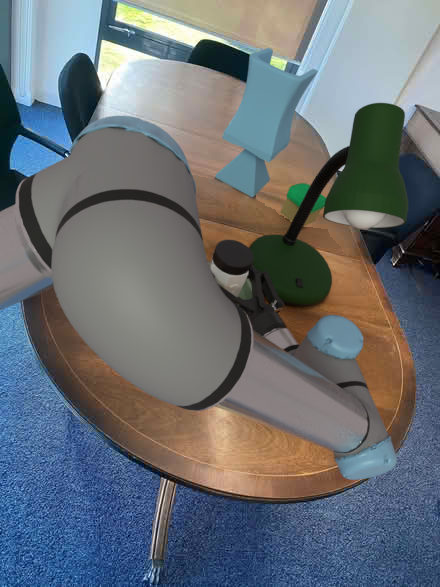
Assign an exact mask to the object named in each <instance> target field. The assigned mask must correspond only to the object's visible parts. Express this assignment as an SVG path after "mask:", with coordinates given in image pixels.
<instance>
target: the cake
mask: <svg viewBox="0 0 440 587" xmlns="http://www.w3.org/2000/svg"><path fill="white" fill-rule="evenodd" d="M310 185H311V184H308V183H304V182H302V183H300V182H299V183H295V184H293V185H291V186H290V187H289V188H288V190H287V192H286V199H285V200H284V203H283V205H282V207H281V209H280V212H279V213H280V214H282V215H283V217H284V218H286V219H288V220H289V221H290V222H292V221H293V219H294V217H295V215H296V213H297V211H298V209H299V207H300V205H301V203H302V201H303V199H304V197H305V195H306V193H307V191H308V189H309V187H310ZM326 198H327V196H324V195H323V194H322V193H321V194H320V196H319V198H318V200H317V202H316V203H315V205H314V207H313V209H312V211H311V213H310V215H309V216H308V218H307V220H306V222H305V224H304V226H303V227H306V226H308V225H310V224H313V223H314V222H316V220H317V218H318V216H319V215H320V213H321V211H322V210H324V206H325V200H326Z"/></svg>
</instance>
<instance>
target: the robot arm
mask: <svg viewBox="0 0 440 587" xmlns="http://www.w3.org/2000/svg"><path fill="white" fill-rule="evenodd" d="M197 203H198V202H197V186H196V181H195V179H194V176H193V175H192V171H191V168H190V165H189V163H188V159H187V157H186V155H185V153H184V151H183V149H182V147H181V146H180V145H179V143H178V142H177V141H176V139H174V137H173V136H171V135H170V133H168V132H167V131H166V130H164V129H163V128H162V127H160V126H158V125H156V124H154V123H152V122H149V121H148V120H143V119H141V118H140V117H136V116H130V115H111V116H106V117H102V118H100V119H97V120H95V121H92V122H91V123H89V124H88V125H87V126H85V127H84V128H83V129H82V131H80V132H79V134H78V135H77V136H76V138H75V139H74V140H73V141H72V143H71V146H70V149H69V155H68V156H66V157H65V158H62V159H61V160H58V161H57V162H55V163H52V164H51V165H48V166H46V167H45V168H43V169H40V170H39V171H38V172H36V173H34V174H32V175H30V176H28V177H25V178H24V179H22V180H21V182H20V183H19V185H18V186H17V189H16V192H15V204H12V205H11V206H9V207H6V208H5V209H2V210H1V211H0V311H2V310H5V309H8V308H10V307H12V306H15V305H16V304H19V303H21V302H24V301H26V300H28V299H31V298H33V297H35V296H37V295H40V294H42V293H45V292H47V291H49V290H52V289H54V292H55V293H54V294H55V295H56V298H57V300H58V303H59V305H60V307H61V310H62V312H63V313H64V315H65V317H66V318H67V320H68V322H69V323H70V325H71V326H72V327H73V329H74V330H75V332H77V333H78V335H79V337H80V338H81V339H82V340H83V342H84V343H85V345H87V346H88V347H89V348H90V349H91V350H92V351H93V352H94V353H95V354H96V355H97V356H98V357H99V359H101V361H103V363H105V364H106V365H107V366H108V367H109V368H110V369H112V370H113V371H114V372H115V373H117V374H118V375H119V376H120V377H122V378H123V379H124V380H125V381H127V382H128V383H130V384H132V385H133V386H135V387H136V388H138V389H139V390H141V391H143V392H144V393H146V394H147V395H149V396H151V397H154V398H155V399H157V400H159V401H162V402H164V403H167V404H170V405H171V406H175V407H178V408H181V409H183V410H187V411H191V412H201V411H202V412H203V411H207V410H209V409H212V408H214V407H215V408H218V409H220V410H223V411H226V412H229V413H231V414H233V415H237V416H239V417H241V418H244V419H247V420H250V421H252V422H254V423H257V424H260V425H263V426H265V427H268V428H270V429H273V430H275V431H279V432H280V433H282V434H283V433H284V434H286V435H288V436H291V437H294V438H296V439H299V440H302V441H304V442H307V443H309V444H312V445H315V446H317V447H320V448H323V449H325V450H328V451H330V452H331V453H333V459H334V462H335V463H336V464H337V467H338V471H339V472H340V474H341V476H342V477H343V478H345V479H347V480H351V481H355V480H356V481H359V480H366V479H370V478H374V477H378V476H381V475H383V474H386V473H388V472H390V471H392V470H393V469H394V468H395V467H396V466H397V463H398V456H397V453H396V450H395V448H394V445H393V442H392V437H391V435H390V434H389V433H388V430H387V428H386V426H385V423H384V421H383V419H382V417H381V415H380V413H379V410H378V408H377V405H376V403H375V401H374V399H373V397H372V395H371V392H370V391H369V387H368V384H367V382H366V379H365V377H364V374H363V372H362V370H361V368H360V365H359V363H358V361H357V359H356V358H357V357H358V356H359V355H360V353H361V351H362V350H363V347H364V336H363V333H362V331H361V330H360V328H359V327H358V326H357V324H356V323H354V322H353V321H352V320H350V319H348V318H346V317H345V316H343V315H338V314H327V315H324V316H322V317H320V318H319V319H318V321H317V322H316V323H315V324H314V325H313V326H312V327H310V329H309V330H308V331H307V333H306V335H305V336H304V338H303V340H302V341H301V342H300V343H299V342H298V339H296V337H295V336H294V334H293V333H292V331H291V329H289V328H287V324H286V323H285V322H284V320H283V319H282V317H281V315H280V313H281V312H282V310H283V308H284V306H285V304H284V302H283V301H282V300H281V299H280V298H279V297H278V294H277V292H276V290H275V288H274V285H273V283H272V281H271V279H270V276H269V274H268V272H267V271H263V272H259V271H258V270H256V269H255V267H254V266H253V264H252V265H251V267H250V269H249V273H248V276H247V279H249V278H250V277H251V279H249V280H250V282H251V285H252V295H253V298H251V299H245V300H243V299H241V298H240V297H236V296H234V295H233V294H231V293H230V292H229V291H227V290H226V289H225V288H223V287H222V286H220V285H219V284H218V283H217V282H216V280H215V276H214V275H213V273H212V271H211V269H210V266H209V264H208V262H209V260H208V257H207V254H206V248H205V245H204V238H203V232H202V227H201V221H200V220H201V219H200V215H199V210H198V204H197ZM262 288H263V291H264V293H265V295H266V296H265V295H264V294H263V293H262ZM265 298H266V300H267V302H268V303H267V302H265ZM238 304H239V306H238Z"/></svg>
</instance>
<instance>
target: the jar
mask: <svg viewBox="0 0 440 587" xmlns="http://www.w3.org/2000/svg"><path fill="white" fill-rule="evenodd" d="M209 262H210V263H209V266H210V269H211V271H212V273H213V275H214V276H215V280H216V282H217V283H218V284H219V285H220V286H222V287H223V288H225V289H226V290H227V291H229V292H230V293H231V294H233V295H234V296H236V297H238V296H239V294H240V292H241V289H242V287H243V285H244V283H245V281H246V278H247V276H248V273H249V269H250V267H251V265H252V262H253V253H252V251H251V250H250V249H249V247H248V245H246V244H244V243H243V242H241V241H238V240H235V239H223V240H220V241H218V242H217V244H215V248H214V250H213V252H212V255H211V258H210V261H209Z"/></svg>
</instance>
